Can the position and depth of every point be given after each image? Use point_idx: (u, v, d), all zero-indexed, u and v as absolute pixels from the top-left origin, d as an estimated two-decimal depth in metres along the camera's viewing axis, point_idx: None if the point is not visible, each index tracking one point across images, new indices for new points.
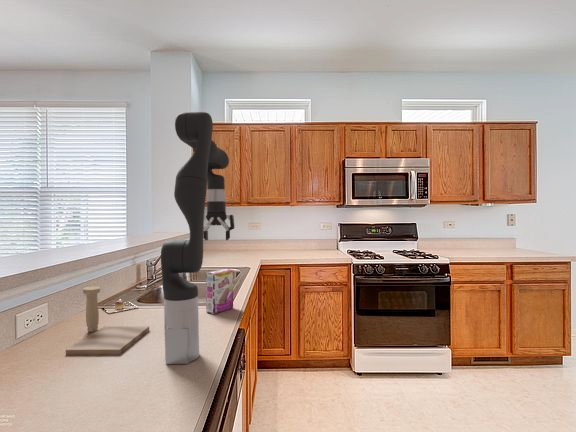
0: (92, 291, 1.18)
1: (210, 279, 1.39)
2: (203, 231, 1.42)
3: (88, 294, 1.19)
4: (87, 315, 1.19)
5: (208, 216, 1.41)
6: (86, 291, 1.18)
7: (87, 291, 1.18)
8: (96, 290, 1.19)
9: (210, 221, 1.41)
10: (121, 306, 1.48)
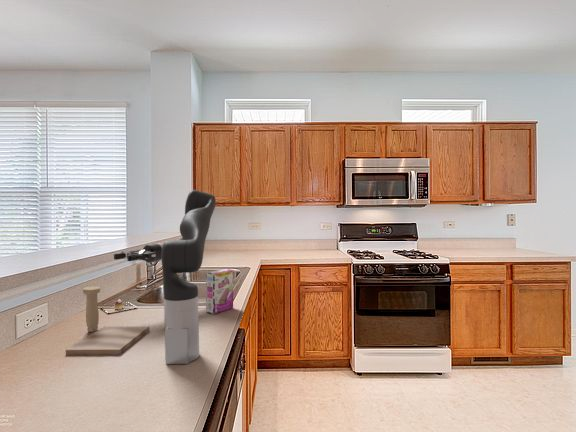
0: (92, 291, 1.18)
1: (210, 279, 1.39)
2: None
3: (88, 294, 1.19)
4: (87, 315, 1.19)
5: None
6: (86, 291, 1.18)
7: (87, 291, 1.18)
8: (96, 290, 1.19)
9: (136, 250, 1.38)
10: (120, 306, 1.48)
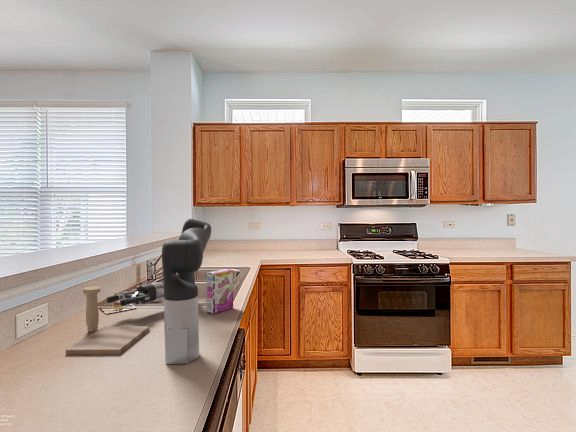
0: (92, 291, 1.18)
1: (210, 279, 1.39)
2: None
3: (88, 294, 1.19)
4: (87, 315, 1.19)
5: None
6: (86, 291, 1.18)
7: (87, 291, 1.18)
8: (96, 290, 1.19)
9: (129, 292, 1.35)
10: (119, 307, 1.47)
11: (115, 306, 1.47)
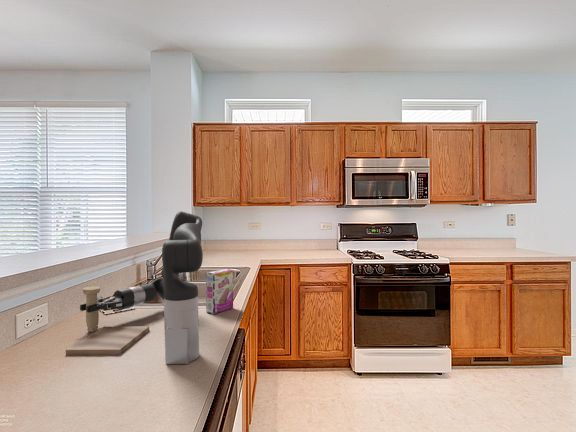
0: (92, 291, 1.18)
1: (210, 279, 1.39)
2: None
3: (88, 294, 1.19)
4: (87, 315, 1.19)
5: None
6: (86, 291, 1.18)
7: (87, 291, 1.18)
8: (96, 290, 1.19)
9: (105, 297, 1.27)
10: None
11: None
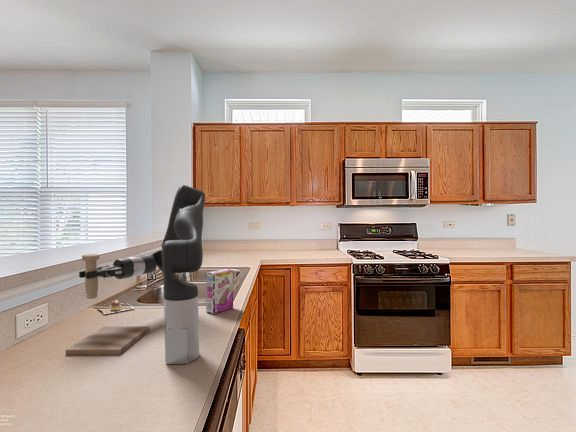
0: (91, 257, 1.17)
1: (210, 279, 1.39)
2: None
3: (87, 260, 1.18)
4: (86, 282, 1.19)
5: None
6: (85, 257, 1.18)
7: (86, 257, 1.17)
8: (95, 256, 1.18)
9: (104, 266, 1.26)
10: (117, 307, 1.46)
11: (113, 307, 1.46)
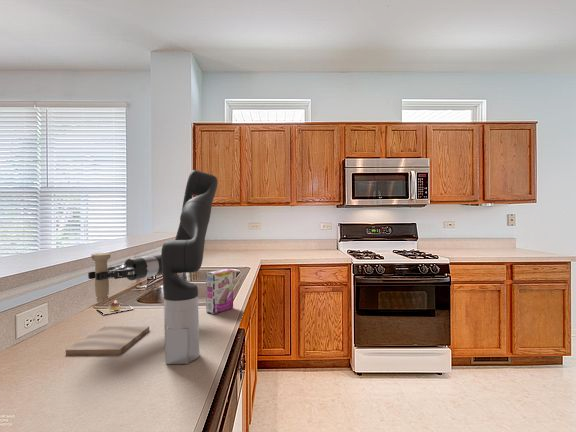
0: (102, 257, 1.07)
1: (210, 279, 1.39)
2: None
3: (97, 260, 1.07)
4: (96, 283, 1.08)
5: None
6: (95, 257, 1.07)
7: (96, 257, 1.07)
8: (106, 256, 1.08)
9: (115, 266, 1.15)
10: (116, 307, 1.46)
11: (112, 307, 1.45)
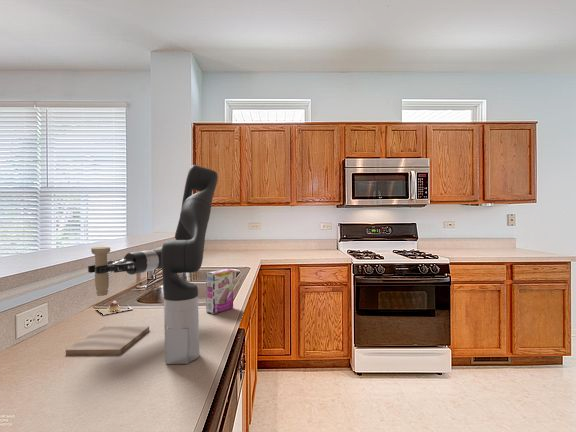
0: (101, 250, 1.07)
1: (210, 279, 1.39)
2: None
3: (97, 254, 1.07)
4: (96, 277, 1.08)
5: None
6: (95, 250, 1.07)
7: (96, 250, 1.07)
8: (106, 249, 1.08)
9: (115, 260, 1.15)
10: (115, 308, 1.46)
11: (111, 307, 1.45)
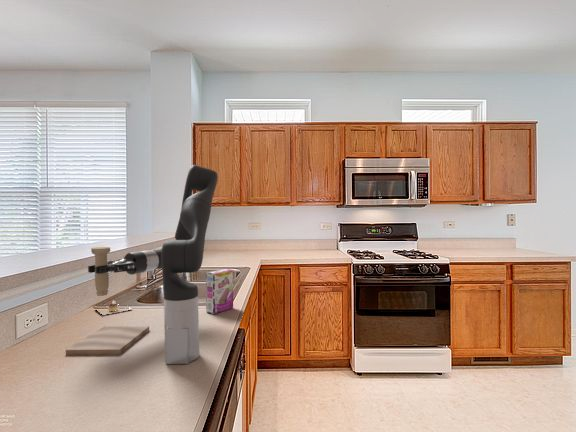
0: (101, 250, 1.07)
1: (210, 279, 1.39)
2: None
3: (97, 254, 1.07)
4: (96, 277, 1.08)
5: None
6: (95, 250, 1.07)
7: (96, 250, 1.07)
8: (106, 249, 1.08)
9: (115, 260, 1.15)
10: (115, 308, 1.45)
11: (110, 307, 1.45)
